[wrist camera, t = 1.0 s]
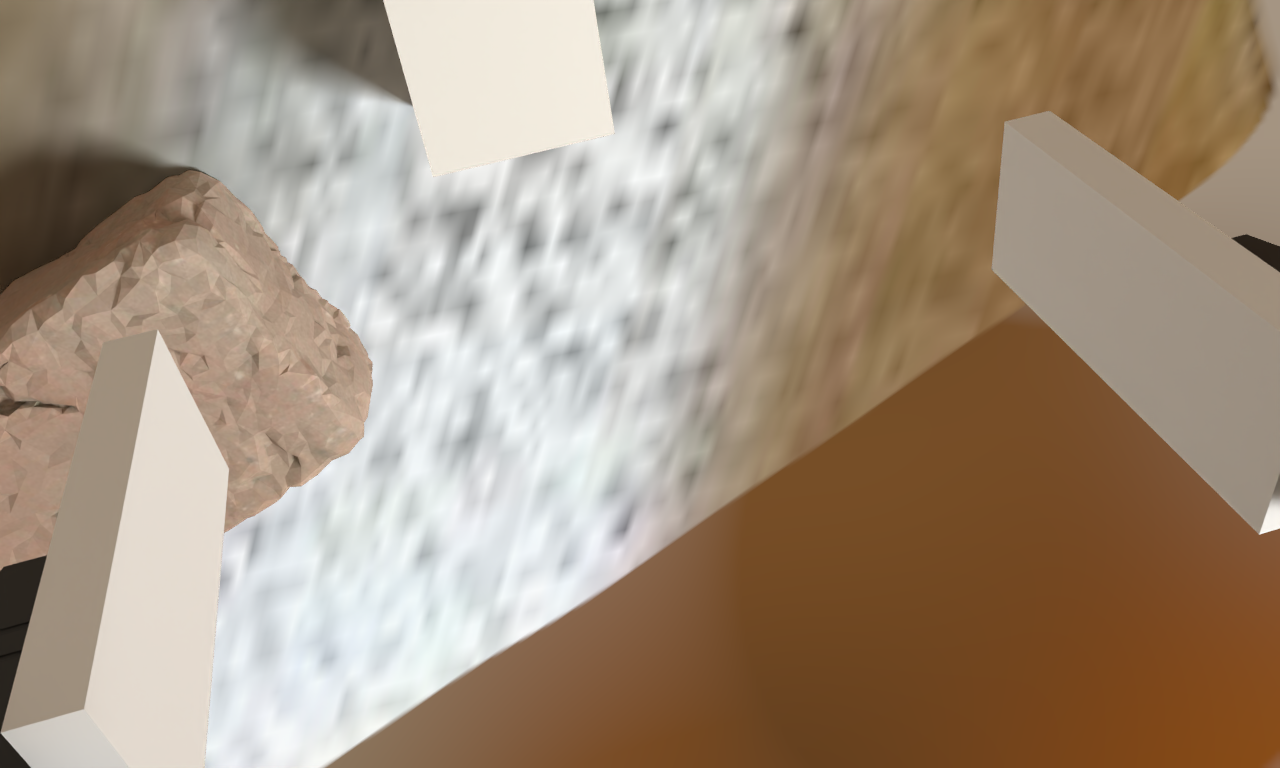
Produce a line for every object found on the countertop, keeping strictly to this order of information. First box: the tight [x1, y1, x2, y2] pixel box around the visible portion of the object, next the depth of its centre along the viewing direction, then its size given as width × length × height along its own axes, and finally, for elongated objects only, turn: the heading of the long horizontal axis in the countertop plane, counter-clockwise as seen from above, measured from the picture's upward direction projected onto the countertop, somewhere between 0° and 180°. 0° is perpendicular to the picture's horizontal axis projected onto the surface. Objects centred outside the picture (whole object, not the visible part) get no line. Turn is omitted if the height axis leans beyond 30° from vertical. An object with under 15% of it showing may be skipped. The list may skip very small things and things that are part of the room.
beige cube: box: [383, 0, 615, 177], centre depth 26 cm, size 4×4×4 cm
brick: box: [0, 170, 373, 571], centre depth 30 cm, size 17×8×5 cm, turn 119°
